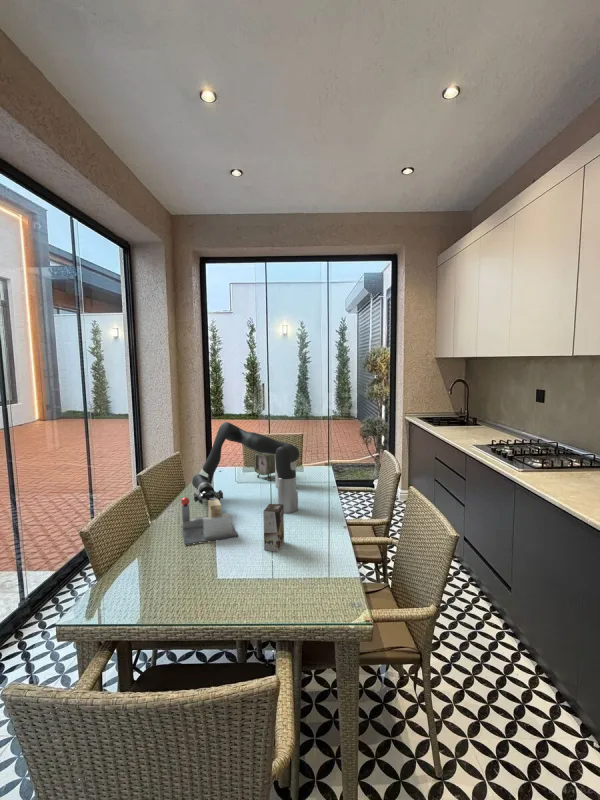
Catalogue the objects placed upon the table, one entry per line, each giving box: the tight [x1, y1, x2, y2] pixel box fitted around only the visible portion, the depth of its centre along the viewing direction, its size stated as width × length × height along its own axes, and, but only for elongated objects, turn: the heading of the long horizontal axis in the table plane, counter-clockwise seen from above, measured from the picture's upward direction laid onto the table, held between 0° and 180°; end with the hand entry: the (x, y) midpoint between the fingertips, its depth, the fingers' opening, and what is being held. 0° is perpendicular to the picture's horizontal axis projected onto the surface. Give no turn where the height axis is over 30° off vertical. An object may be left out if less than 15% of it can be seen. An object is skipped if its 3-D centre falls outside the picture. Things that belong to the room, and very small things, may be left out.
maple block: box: [207, 499, 222, 517], centre depth 174 cm, size 4×8×12 cm, turn 21°
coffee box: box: [263, 503, 285, 552], centre depth 159 cm, size 9×6×16 cm
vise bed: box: [180, 513, 239, 546], centre depth 173 cm, size 22×20×9 cm
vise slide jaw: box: [180, 496, 230, 529], centre depth 179 cm, size 21×4×14 cm, turn 111°
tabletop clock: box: [253, 451, 275, 482], centre depth 256 cm, size 14×9×25 cm, turn 43°
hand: (210, 500), depth 187 cm, fingers open, 7 cm apart
